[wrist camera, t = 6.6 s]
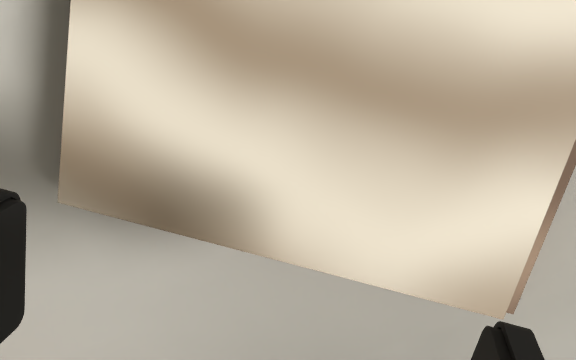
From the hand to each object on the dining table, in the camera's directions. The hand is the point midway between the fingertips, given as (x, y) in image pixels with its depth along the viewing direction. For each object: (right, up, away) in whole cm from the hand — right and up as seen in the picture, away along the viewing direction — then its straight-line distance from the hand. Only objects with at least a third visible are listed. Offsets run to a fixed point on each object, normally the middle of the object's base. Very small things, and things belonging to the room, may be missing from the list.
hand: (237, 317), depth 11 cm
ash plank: (+2, +7, +6) cm, 9 cm away
